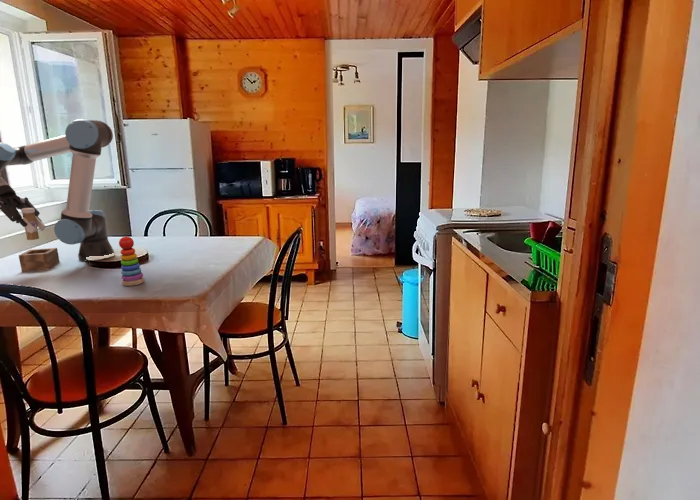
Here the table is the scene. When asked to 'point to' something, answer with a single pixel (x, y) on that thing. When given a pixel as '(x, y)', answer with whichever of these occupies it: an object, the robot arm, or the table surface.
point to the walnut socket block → (39, 259)
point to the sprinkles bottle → (30, 217)
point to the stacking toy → (130, 263)
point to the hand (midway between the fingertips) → (38, 229)
